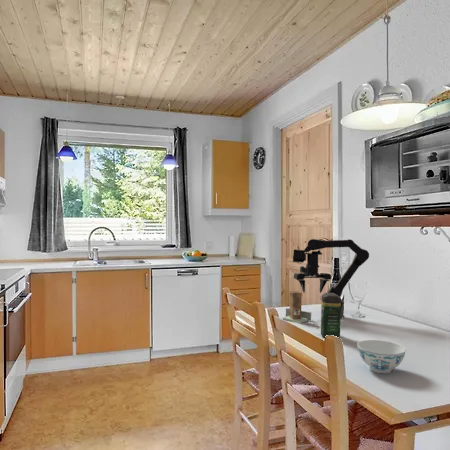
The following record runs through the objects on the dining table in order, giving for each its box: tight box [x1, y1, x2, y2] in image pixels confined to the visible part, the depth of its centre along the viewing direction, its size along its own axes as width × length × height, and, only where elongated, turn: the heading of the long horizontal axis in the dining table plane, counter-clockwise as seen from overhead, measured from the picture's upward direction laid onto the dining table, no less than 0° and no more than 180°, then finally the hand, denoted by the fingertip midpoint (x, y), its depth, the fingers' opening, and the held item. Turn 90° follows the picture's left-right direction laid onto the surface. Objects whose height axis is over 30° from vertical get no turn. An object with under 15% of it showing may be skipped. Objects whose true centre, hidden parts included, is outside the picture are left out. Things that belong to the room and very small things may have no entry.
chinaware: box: [356, 339, 407, 374], centre depth 134 cm, size 15×15×8 cm
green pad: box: [282, 316, 308, 324], centre depth 200 cm, size 10×7×1 cm
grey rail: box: [285, 307, 312, 322], centre depth 205 cm, size 14×1×4 cm, turn 50°
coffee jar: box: [320, 292, 342, 338], centre depth 172 cm, size 10×8×19 cm
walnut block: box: [289, 290, 303, 319], centre depth 200 cm, size 4×5×13 cm
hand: (312, 292), depth 211 cm, fingers open, 9 cm apart
